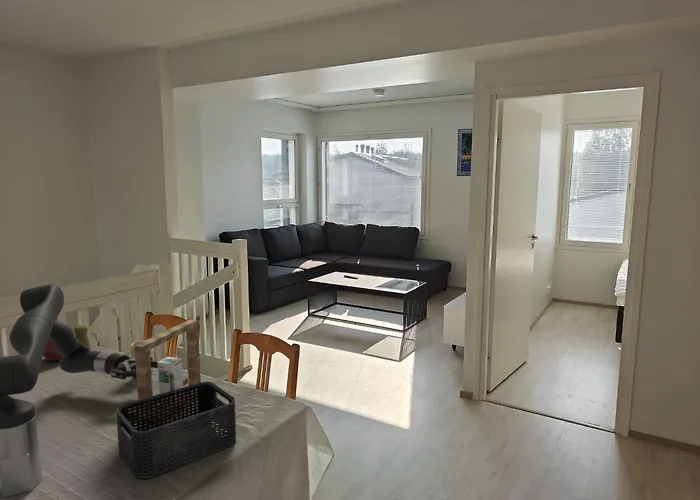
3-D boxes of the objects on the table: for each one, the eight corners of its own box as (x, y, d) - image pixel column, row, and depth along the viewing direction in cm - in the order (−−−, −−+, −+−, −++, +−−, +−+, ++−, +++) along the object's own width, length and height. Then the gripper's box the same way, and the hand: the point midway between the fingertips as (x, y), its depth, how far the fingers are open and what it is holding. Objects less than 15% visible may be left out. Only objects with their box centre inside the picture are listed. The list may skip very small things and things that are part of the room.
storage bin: (210, 418, 155) (209, 378, 153) (241, 443, 141) (239, 399, 138) (115, 452, 136) (111, 407, 134) (139, 485, 122) (135, 435, 120)
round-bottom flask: (74, 362, 199) (70, 315, 196) (37, 367, 193) (31, 319, 190) (77, 351, 211) (73, 307, 207) (41, 356, 205) (36, 310, 202)
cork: (83, 353, 209) (81, 328, 207) (71, 352, 210) (69, 327, 208) (93, 348, 214) (91, 324, 213) (82, 347, 216) (79, 323, 214)
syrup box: (159, 403, 162) (156, 362, 160) (170, 395, 168) (167, 355, 166) (173, 405, 161) (171, 364, 158) (184, 397, 166) (182, 357, 164)
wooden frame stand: (158, 425, 150) (153, 348, 146) (129, 420, 153) (123, 344, 149) (210, 387, 176) (207, 321, 172) (184, 383, 179) (181, 318, 175)
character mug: (132, 383, 179) (129, 349, 177) (124, 377, 185) (122, 344, 182) (161, 374, 187) (159, 342, 185) (153, 369, 192) (151, 337, 190)
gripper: (94, 361, 163) (134, 367, 158) (126, 346, 176) (163, 351, 171) (96, 382, 164) (135, 388, 159) (127, 366, 178) (164, 372, 173)
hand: (150, 369), depth 165 cm, fingers open, 8 cm apart
